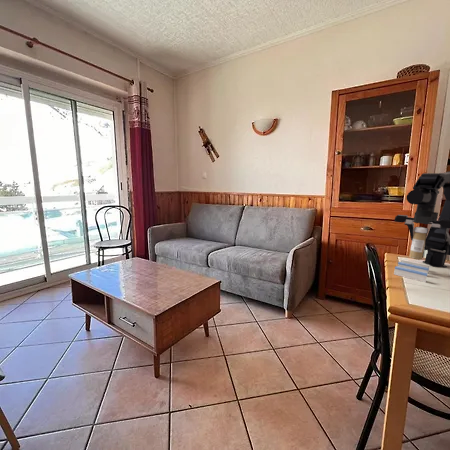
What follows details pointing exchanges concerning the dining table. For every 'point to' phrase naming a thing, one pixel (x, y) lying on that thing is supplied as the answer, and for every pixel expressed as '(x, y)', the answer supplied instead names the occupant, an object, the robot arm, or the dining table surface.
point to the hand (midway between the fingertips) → (418, 241)
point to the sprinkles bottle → (418, 243)
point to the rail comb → (412, 270)
